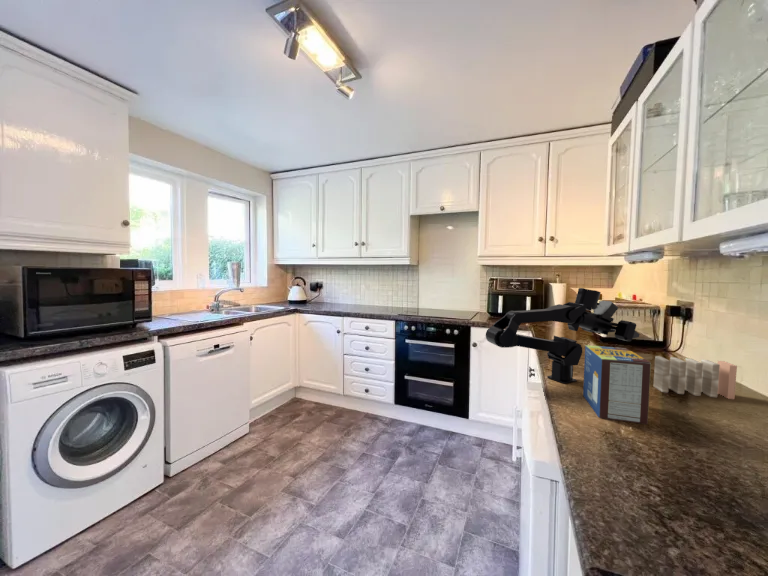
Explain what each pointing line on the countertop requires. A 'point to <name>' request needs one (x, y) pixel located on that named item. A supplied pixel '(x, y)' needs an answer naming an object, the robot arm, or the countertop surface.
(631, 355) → the protein box
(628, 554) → the countertop surface
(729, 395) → the domino
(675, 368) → the domino
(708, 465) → the countertop surface
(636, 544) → the countertop surface
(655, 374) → the domino
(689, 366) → the domino
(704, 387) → the domino
